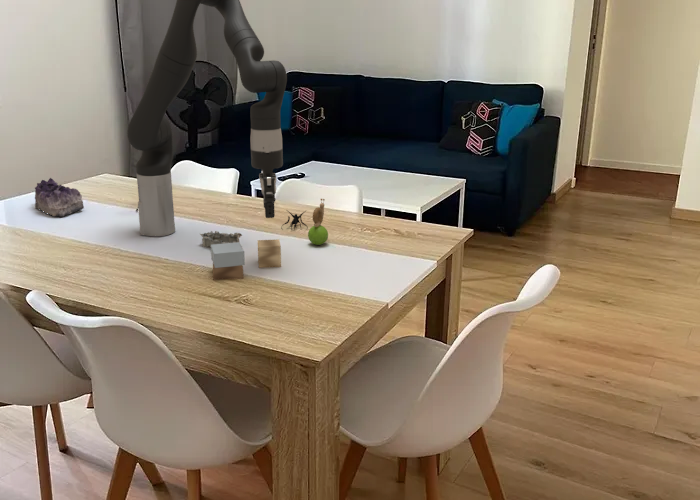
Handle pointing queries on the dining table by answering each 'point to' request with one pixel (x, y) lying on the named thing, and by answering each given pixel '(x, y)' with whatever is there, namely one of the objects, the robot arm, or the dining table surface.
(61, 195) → the geode
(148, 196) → the robot arm
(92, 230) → the dining table surface
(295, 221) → the creature
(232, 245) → the tower top
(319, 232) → the snail figurine
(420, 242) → the dining table surface
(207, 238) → the grey stone ruin model
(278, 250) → the oak cube
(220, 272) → the tower base
